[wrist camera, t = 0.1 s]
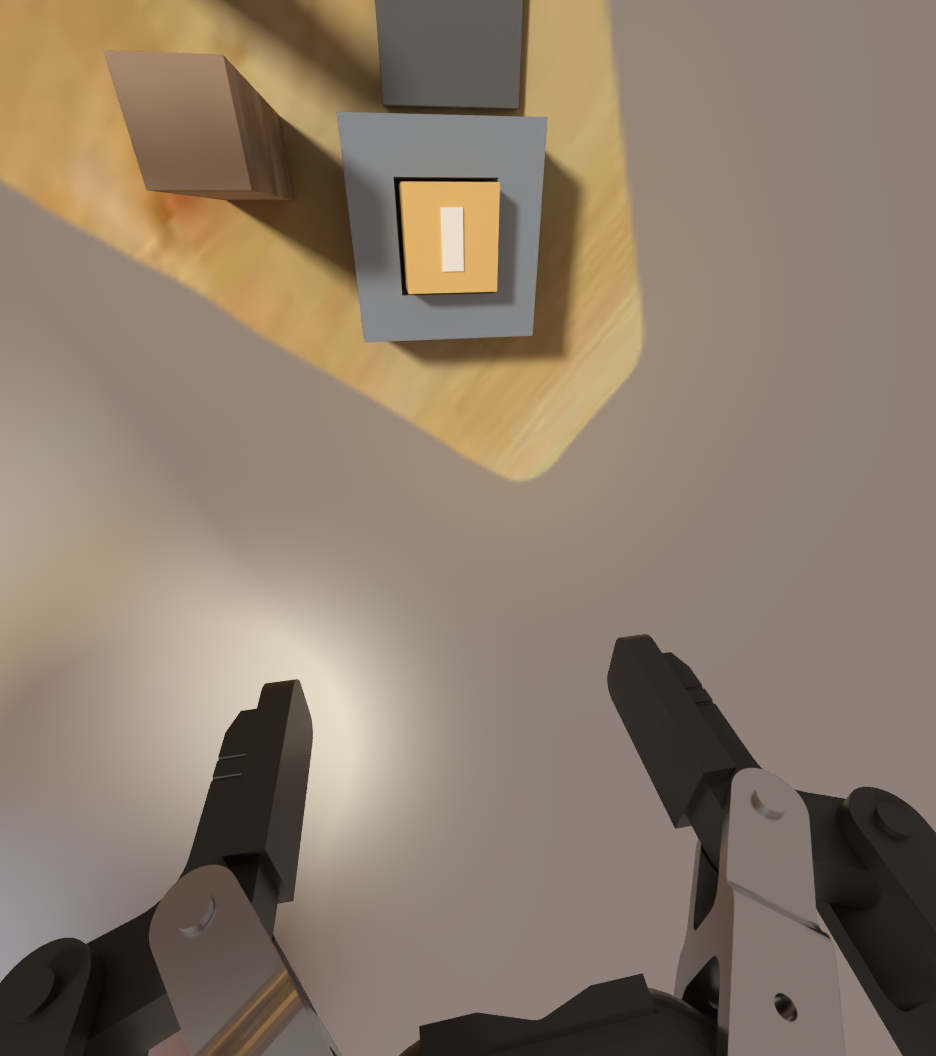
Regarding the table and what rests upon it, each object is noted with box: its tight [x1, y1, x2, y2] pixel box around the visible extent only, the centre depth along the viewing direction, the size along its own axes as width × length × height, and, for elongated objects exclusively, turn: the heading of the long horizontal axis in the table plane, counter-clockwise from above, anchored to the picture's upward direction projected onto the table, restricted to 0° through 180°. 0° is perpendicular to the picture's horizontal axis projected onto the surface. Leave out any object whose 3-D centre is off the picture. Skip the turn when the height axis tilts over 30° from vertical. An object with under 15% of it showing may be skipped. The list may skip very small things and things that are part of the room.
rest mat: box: [375, 0, 523, 110], centre depth 25 cm, size 8×8×1 cm
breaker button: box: [398, 182, 500, 294], centre depth 27 cm, size 5×5×4 cm
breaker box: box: [337, 112, 547, 342], centre depth 29 cm, size 11×11×5 cm
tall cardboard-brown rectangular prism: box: [103, 50, 293, 200], centre depth 23 cm, size 4×4×12 cm
